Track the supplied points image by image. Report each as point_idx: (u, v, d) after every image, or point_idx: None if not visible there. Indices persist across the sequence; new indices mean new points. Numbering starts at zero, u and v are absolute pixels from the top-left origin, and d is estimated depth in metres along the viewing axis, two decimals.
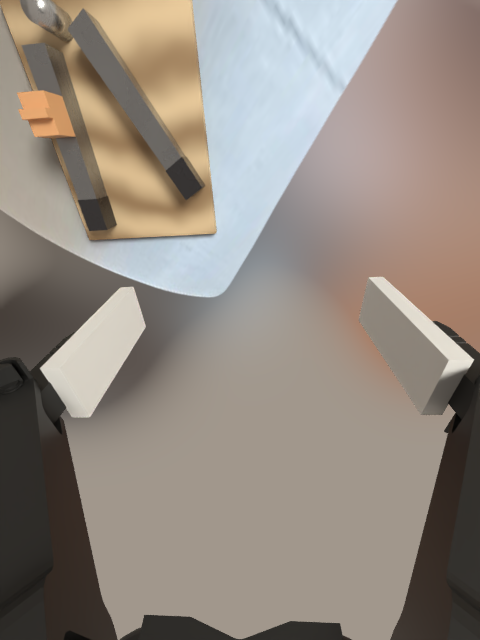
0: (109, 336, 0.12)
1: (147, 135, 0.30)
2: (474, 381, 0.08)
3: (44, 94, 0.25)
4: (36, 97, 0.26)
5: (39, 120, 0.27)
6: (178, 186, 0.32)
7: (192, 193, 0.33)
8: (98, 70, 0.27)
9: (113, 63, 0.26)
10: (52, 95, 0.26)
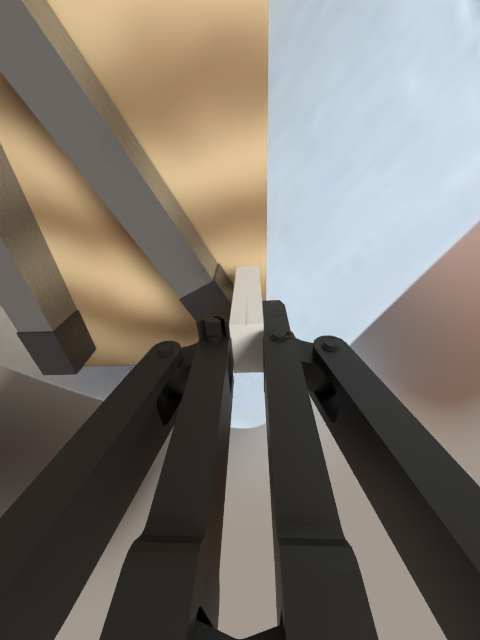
0: None
1: (146, 240, 0.14)
2: (263, 347, 0.10)
3: None
4: None
5: None
6: None
7: None
8: (31, 104, 0.11)
9: (68, 91, 0.11)
10: None
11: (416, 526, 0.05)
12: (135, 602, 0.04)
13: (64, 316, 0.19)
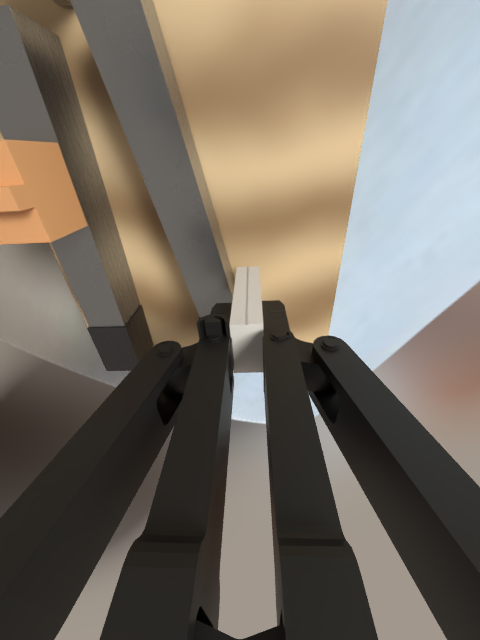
0: None
1: (187, 261, 0.15)
2: None
3: (6, 149, 0.09)
4: None
5: None
6: None
7: None
8: (122, 115, 0.11)
9: (164, 118, 0.11)
10: (32, 147, 0.10)
11: (416, 526, 0.05)
12: (135, 602, 0.04)
13: (132, 311, 0.18)
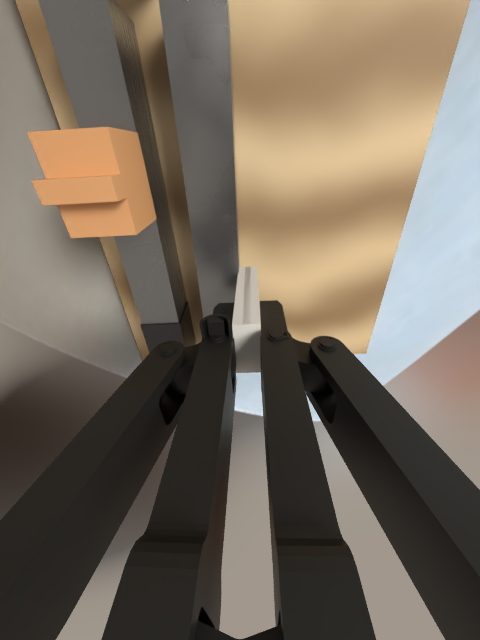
0: None
1: (206, 267, 0.15)
2: (260, 347, 0.10)
3: (107, 137, 0.09)
4: (84, 144, 0.09)
5: (87, 202, 0.10)
6: None
7: None
8: (179, 117, 0.11)
9: (221, 130, 0.11)
10: (123, 136, 0.10)
11: (413, 526, 0.05)
12: (138, 602, 0.04)
13: (182, 307, 0.18)
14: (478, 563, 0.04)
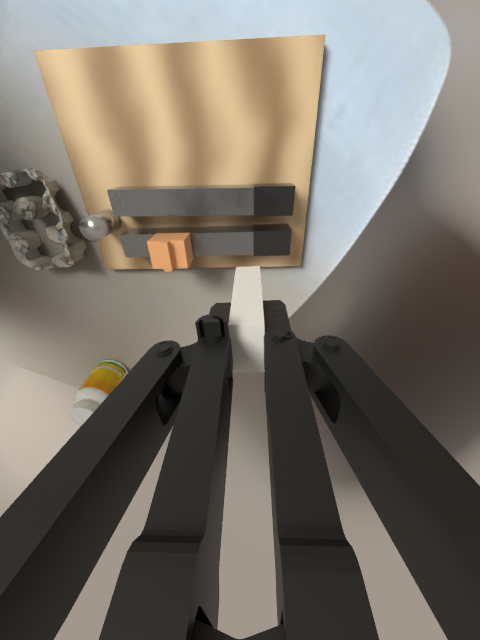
0: None
1: (215, 209, 0.26)
2: (263, 347, 0.10)
3: (149, 242, 0.24)
4: (153, 251, 0.25)
5: (172, 256, 0.25)
6: (275, 213, 0.26)
7: (292, 202, 0.25)
8: (149, 214, 0.26)
9: (150, 195, 0.25)
10: (152, 237, 0.25)
11: (417, 526, 0.05)
12: (134, 602, 0.04)
13: (250, 228, 0.28)
14: None
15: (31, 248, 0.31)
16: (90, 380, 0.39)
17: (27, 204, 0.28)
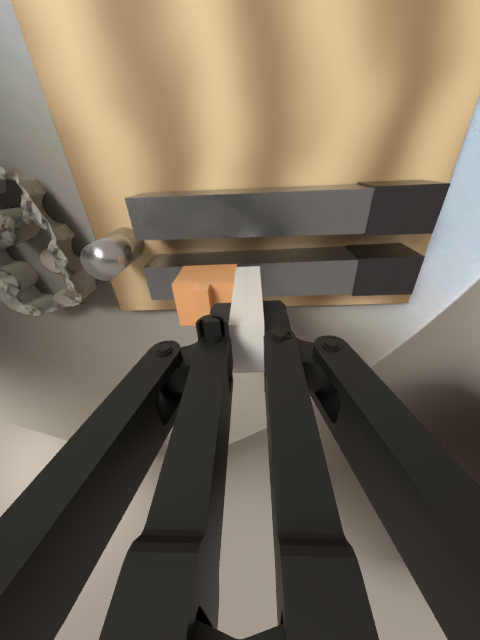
0: None
1: (302, 225, 0.16)
2: None
3: (176, 285, 0.14)
4: (182, 299, 0.15)
5: None
6: (403, 230, 0.15)
7: (437, 211, 0.15)
8: (192, 235, 0.16)
9: (196, 205, 0.15)
10: (180, 276, 0.15)
11: (417, 526, 0.05)
12: (135, 602, 0.04)
13: (347, 252, 0.18)
14: None
15: (24, 287, 0.22)
16: None
17: (1, 220, 0.18)
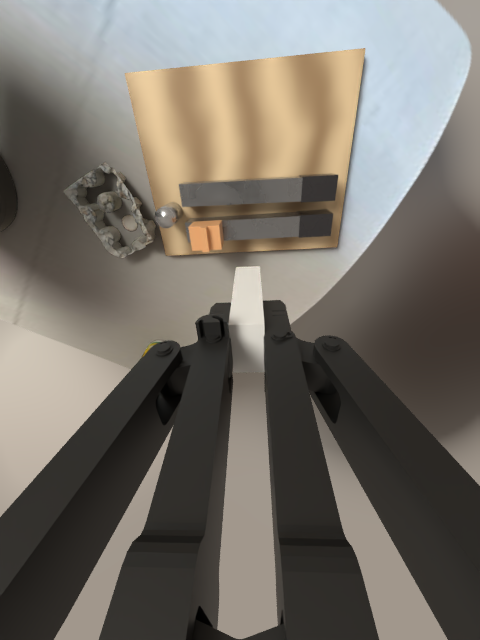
0: None
1: (268, 197, 0.30)
2: (263, 347, 0.10)
3: (190, 227, 0.29)
4: (193, 235, 0.30)
5: (209, 239, 0.30)
6: (319, 199, 0.30)
7: (335, 189, 0.29)
8: (211, 203, 0.31)
9: (214, 187, 0.30)
10: (192, 224, 0.30)
11: (417, 526, 0.05)
12: (135, 602, 0.04)
13: (295, 213, 0.33)
14: None
15: (115, 240, 0.36)
16: None
17: (106, 197, 0.33)
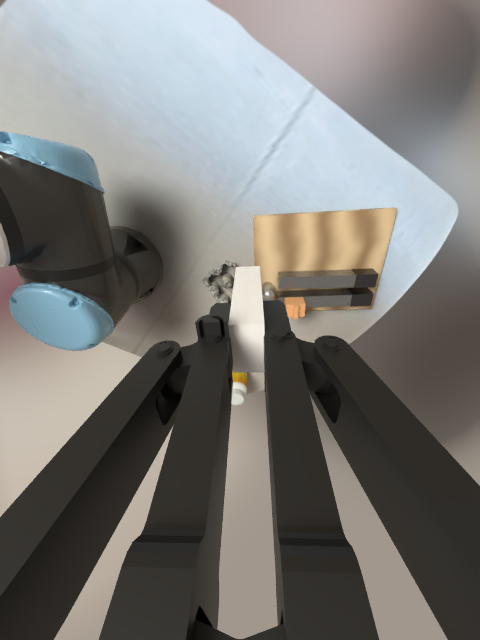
0: None
1: (334, 284, 0.49)
2: (263, 347, 0.10)
3: (287, 305, 0.48)
4: (288, 309, 0.48)
5: (297, 311, 0.48)
6: (366, 286, 0.49)
7: (375, 281, 0.48)
8: (297, 287, 0.49)
9: (301, 279, 0.48)
10: (286, 301, 0.49)
11: (417, 526, 0.05)
12: (134, 602, 0.04)
13: (348, 291, 0.51)
14: None
15: None
16: (233, 377, 0.62)
17: (227, 279, 0.51)
